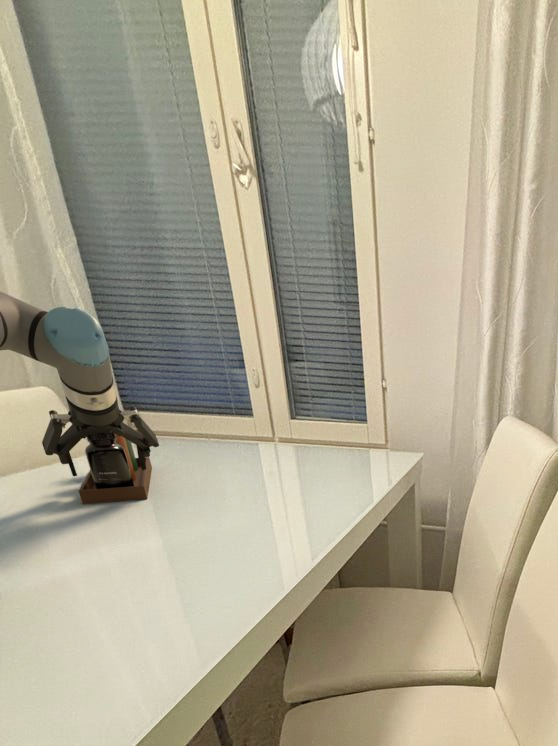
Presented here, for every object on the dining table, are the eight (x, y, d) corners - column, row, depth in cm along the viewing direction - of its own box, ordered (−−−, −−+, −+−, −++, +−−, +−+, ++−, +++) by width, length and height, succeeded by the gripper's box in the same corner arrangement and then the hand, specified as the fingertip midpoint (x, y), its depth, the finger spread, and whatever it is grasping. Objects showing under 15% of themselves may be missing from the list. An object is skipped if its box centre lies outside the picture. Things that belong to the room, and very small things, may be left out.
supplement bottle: (108, 497, 110) (88, 435, 104) (91, 492, 113) (71, 430, 107) (142, 491, 115) (125, 430, 109) (125, 485, 118) (107, 426, 112)
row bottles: (103, 484, 118) (85, 425, 112) (110, 468, 130) (94, 414, 124) (135, 482, 120) (119, 424, 114) (139, 466, 133) (124, 413, 127)
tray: (82, 504, 107) (78, 491, 106) (98, 471, 130) (95, 460, 129) (147, 499, 112) (143, 486, 110) (152, 467, 134) (149, 457, 133)
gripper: (10, 417, 88) (43, 490, 107) (173, 409, 101) (177, 476, 119) (-2, 377, 89) (32, 457, 108) (161, 375, 102) (167, 446, 120)
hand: (108, 467), depth 113 cm, fingers open, 12 cm apart
